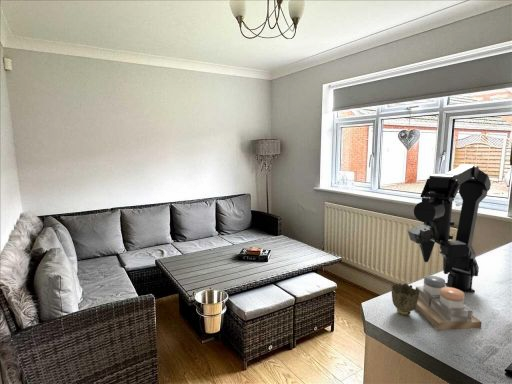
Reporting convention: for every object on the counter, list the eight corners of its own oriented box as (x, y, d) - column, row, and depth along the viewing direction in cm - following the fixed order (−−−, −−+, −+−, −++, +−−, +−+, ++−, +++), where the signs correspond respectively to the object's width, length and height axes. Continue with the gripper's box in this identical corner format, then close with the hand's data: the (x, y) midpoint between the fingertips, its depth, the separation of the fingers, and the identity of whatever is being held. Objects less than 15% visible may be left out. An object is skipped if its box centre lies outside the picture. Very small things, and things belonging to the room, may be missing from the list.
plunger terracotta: (453, 301, 89) (455, 286, 88) (467, 311, 83) (469, 296, 83) (435, 301, 89) (436, 287, 88) (447, 311, 83) (449, 296, 82)
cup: (384, 309, 93) (385, 284, 92) (402, 305, 95) (404, 281, 94) (403, 322, 86) (405, 296, 85) (423, 317, 88) (425, 291, 87)
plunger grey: (436, 288, 97) (437, 275, 96) (448, 297, 91) (449, 283, 91) (419, 288, 97) (420, 275, 96) (430, 297, 91) (431, 283, 90)
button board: (442, 299, 99) (444, 285, 98) (480, 328, 83) (482, 311, 82) (406, 300, 98) (407, 285, 98) (437, 330, 82) (439, 312, 82)
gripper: (396, 211, 99) (393, 257, 101) (433, 225, 80) (429, 282, 83) (429, 210, 99) (426, 256, 102) (474, 224, 81) (468, 280, 83)
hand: (435, 267), depth 92 cm, fingers open, 9 cm apart
